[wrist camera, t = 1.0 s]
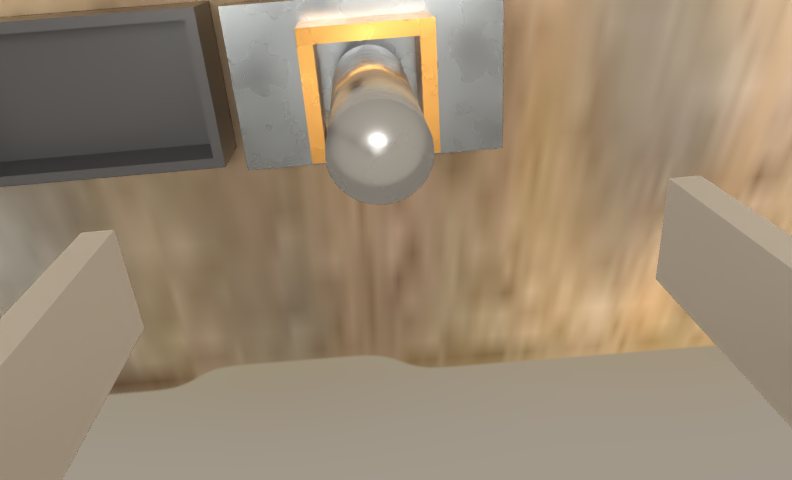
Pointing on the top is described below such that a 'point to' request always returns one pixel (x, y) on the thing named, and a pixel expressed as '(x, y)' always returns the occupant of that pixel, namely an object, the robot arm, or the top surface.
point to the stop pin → (376, 129)
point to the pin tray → (111, 94)
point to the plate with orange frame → (333, 37)
